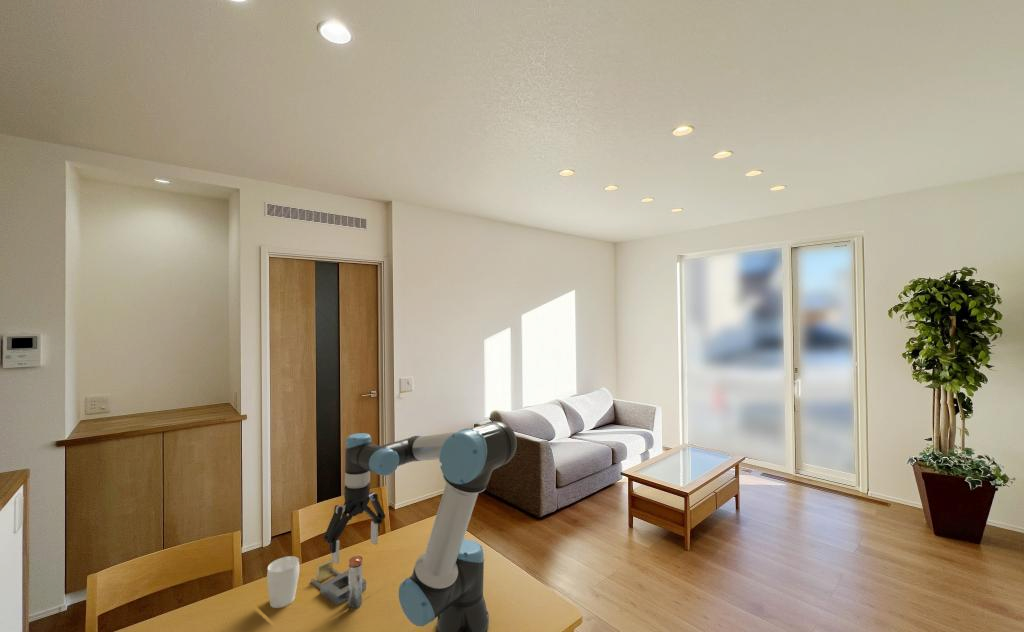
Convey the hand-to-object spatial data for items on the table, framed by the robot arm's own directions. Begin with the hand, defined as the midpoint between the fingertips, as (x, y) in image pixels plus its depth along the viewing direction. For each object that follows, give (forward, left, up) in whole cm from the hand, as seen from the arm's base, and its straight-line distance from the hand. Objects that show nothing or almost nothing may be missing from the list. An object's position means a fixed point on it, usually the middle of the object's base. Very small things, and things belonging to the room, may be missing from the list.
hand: (355, 552), depth 128 cm
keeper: (+19, -1, -15) cm, 25 cm away
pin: (0, 0, -16) cm, 16 cm away
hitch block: (+12, -2, -16) cm, 20 cm away
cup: (+19, +13, -16) cm, 28 cm away
